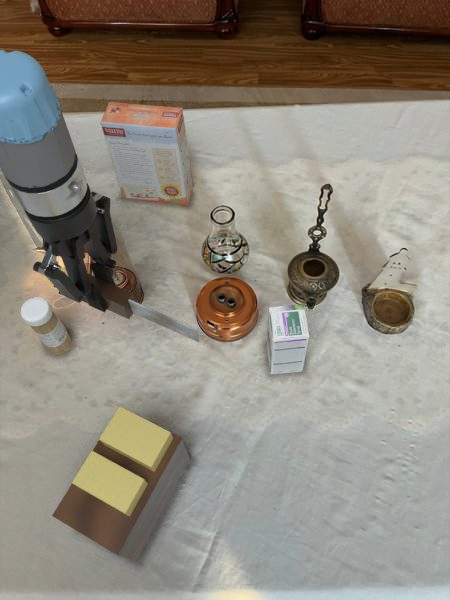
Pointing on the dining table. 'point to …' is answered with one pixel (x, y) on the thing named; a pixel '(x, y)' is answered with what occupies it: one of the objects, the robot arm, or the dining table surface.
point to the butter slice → (110, 483)
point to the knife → (138, 308)
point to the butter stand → (113, 523)
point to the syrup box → (287, 338)
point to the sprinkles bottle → (46, 324)
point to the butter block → (136, 438)
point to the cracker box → (149, 152)
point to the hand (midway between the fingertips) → (103, 298)
